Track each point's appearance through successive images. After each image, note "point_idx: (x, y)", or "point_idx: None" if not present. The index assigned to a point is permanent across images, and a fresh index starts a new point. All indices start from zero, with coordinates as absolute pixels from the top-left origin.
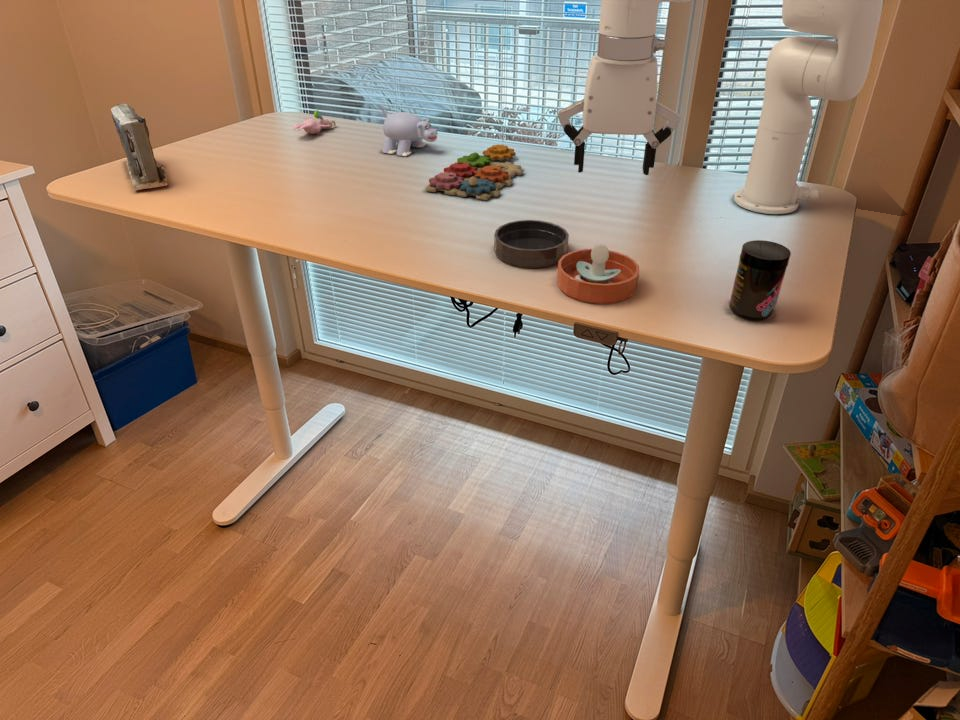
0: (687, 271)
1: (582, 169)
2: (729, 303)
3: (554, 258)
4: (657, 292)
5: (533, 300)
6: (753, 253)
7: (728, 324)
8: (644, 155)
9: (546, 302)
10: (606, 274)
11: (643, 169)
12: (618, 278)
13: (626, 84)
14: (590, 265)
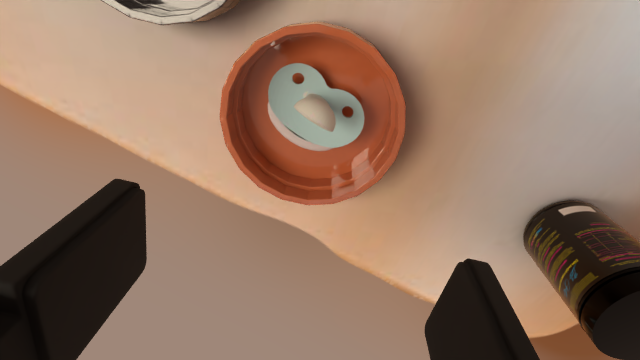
0: (545, 64)
1: (136, 276)
2: (531, 225)
3: (226, 9)
4: (428, 150)
5: (188, 157)
6: (605, 334)
7: (495, 256)
8: (476, 335)
9: (212, 165)
10: (336, 108)
11: (438, 315)
12: (366, 98)
13: None
14: (307, 69)
